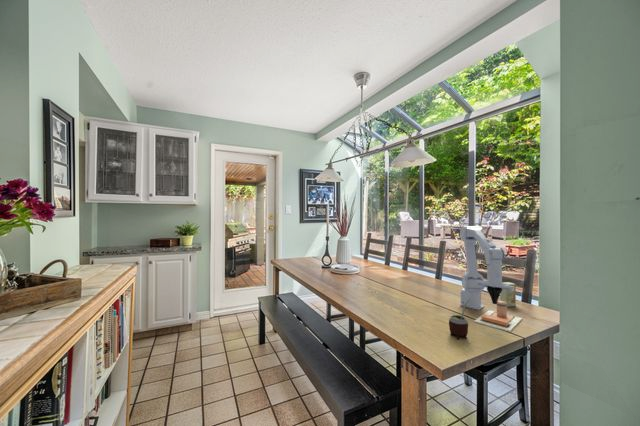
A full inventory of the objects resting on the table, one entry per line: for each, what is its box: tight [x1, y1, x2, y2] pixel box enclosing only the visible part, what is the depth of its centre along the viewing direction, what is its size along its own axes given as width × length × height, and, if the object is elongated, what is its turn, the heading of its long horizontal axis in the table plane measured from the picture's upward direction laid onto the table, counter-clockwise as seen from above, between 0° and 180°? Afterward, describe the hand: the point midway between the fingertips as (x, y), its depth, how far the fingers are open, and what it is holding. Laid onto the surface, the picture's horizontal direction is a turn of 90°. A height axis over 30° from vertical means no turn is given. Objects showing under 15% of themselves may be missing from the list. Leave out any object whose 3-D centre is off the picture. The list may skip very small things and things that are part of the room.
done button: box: [480, 313, 509, 326], centre depth 122 cm, size 10×4×2 cm, turn 41°
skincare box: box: [499, 281, 517, 308], centre depth 146 cm, size 6×4×12 cm
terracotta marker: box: [496, 300, 508, 318], centre depth 129 cm, size 4×4×7 cm
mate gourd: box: [448, 300, 469, 340], centre depth 110 cm, size 8×8×15 cm
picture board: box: [474, 309, 523, 333], centre depth 125 cm, size 14×20×1 cm
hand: (494, 303), depth 122 cm, fingers closed
